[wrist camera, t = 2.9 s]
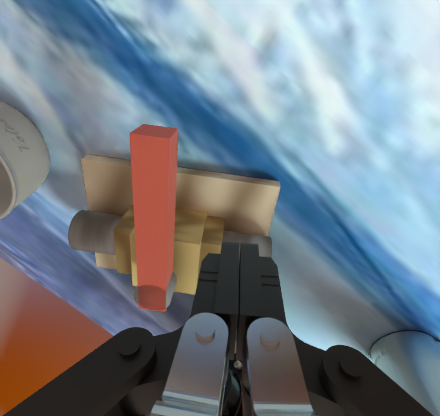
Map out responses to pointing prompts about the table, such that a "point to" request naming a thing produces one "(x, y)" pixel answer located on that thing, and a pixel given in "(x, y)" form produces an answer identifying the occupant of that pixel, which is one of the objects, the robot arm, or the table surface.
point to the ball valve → (233, 389)
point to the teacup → (20, 159)
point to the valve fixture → (184, 217)
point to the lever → (154, 213)
